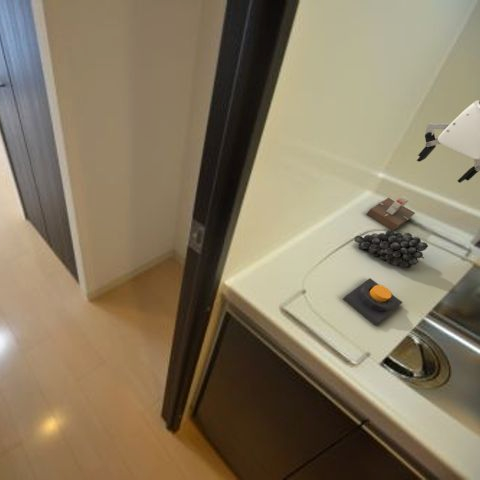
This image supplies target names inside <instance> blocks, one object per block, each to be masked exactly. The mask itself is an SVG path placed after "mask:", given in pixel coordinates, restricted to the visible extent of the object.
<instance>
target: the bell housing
mask: <svg viewBox="0 0 480 480" xmlns="http://www.w3.org/2000/svg"><path fill="white" fill-rule="evenodd" d="M376 285H380V284H379V283H378V282H376V281H375V280H373V279H372V278H371V277H369V278H368V279H366V280H365V281H364V282H362V283H361V284H359V285H358V286H357V287H356V288H354V289H353V290H351V291H350V292H348V293H347V294H345V296H344V297H343V298H342V300H343V301H344V302H345V303H346V304H347V305H349V306H350V307H351V308H353V309H354V310H355V311H356V312H358V313H359V314H360V315H361V316H362V317H363V318H364V319H366V320H367V321H368V322H369V323H371V324H372V325H373V326H376V325H378V324H379V323H380V322H381V321H382V320H384V319H385V318H386V317H387V316H388V315H390V314H391V313H392V312H393V311H395V309H397V308H398V307H399V306H400V305H402V304H403V301H402V300H401V299H399V298H398V297H396V295H393V293H392V292H391V294H392V296H391V297H390V298H389V299H388V300H387V301H386V302H379V301H376V300H375V299H373V298H372V297H371V295H370V293H369V292H370V290H371V289H372V288H373V287H374V286H376Z"/></svg>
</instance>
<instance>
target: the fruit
mask: <svg viewBox="0 0 480 480" xmlns="http://www.w3.org/2000/svg"><path fill="white" fill-rule="evenodd" d="M353 240H354V242H355V243H358V245H357V248H358V249H359V250H361V251H364V250H366V251H367V252H369V254H371V255H372V256H373V257H375V258H378V257H379V258H380V260H382V261H385V260H386V262H387V263H389V264H391V265H393V266H400V267H402V268H405V269H410V268H411V267H412V266H414V265H415V266H416V265H418V264H419V259H421V258H422V259H423V260H425V257H424V254H423V251H425V250H427V249H428V247H429V245H428V243H427V242H425V241H421V238H420V237H419V236H413V235H412V233H410V232H405V233H402V232H395V230H393V231H392V230H390V229H387V231H385V233H384V232H380V233H377V232H376V233H375V232H373V233H372V234H366V235H364V236H361V235H356V236H355V237H354V239H353Z"/></svg>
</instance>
